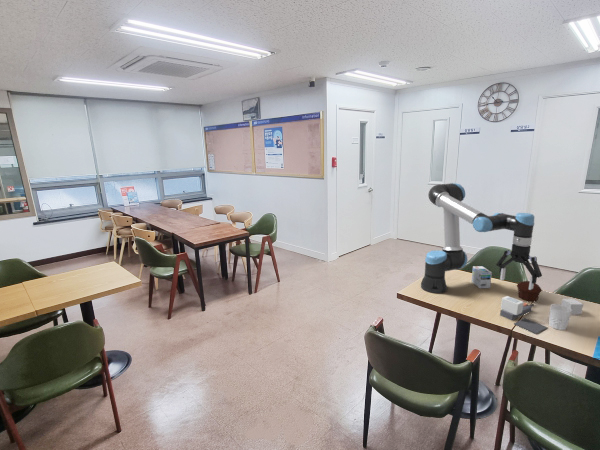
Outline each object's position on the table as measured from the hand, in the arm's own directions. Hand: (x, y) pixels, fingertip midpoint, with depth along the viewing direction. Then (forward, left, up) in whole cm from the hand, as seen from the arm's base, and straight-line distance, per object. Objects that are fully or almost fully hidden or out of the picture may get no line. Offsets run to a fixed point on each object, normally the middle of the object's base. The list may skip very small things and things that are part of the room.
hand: (515, 284), depth 162 cm
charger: (0, -1, -16) cm, 16 cm away
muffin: (-6, +27, -18) cm, 33 cm away
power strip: (0, +8, -17) cm, 19 cm away
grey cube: (+14, +30, -18) cm, 37 cm away
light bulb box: (-31, +22, -18) cm, 42 cm away
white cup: (+17, +8, -18) cm, 26 cm away
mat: (+11, -3, -17) cm, 21 cm away
